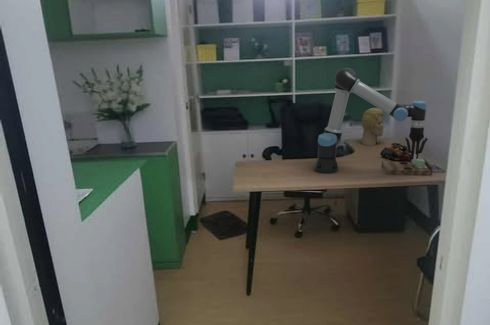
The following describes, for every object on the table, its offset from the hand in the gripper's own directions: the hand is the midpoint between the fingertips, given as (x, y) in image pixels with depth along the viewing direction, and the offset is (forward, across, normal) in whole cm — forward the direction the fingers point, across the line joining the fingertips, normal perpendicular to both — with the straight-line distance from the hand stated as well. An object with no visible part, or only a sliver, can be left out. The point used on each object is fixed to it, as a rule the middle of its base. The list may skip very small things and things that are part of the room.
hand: (413, 163), depth 227 cm
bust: (+5, -16, +74) cm, 76 cm away
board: (+5, -5, 0) cm, 6 cm away
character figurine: (+5, -6, +22) cm, 24 cm away
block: (+2, +3, 0) cm, 4 cm away
